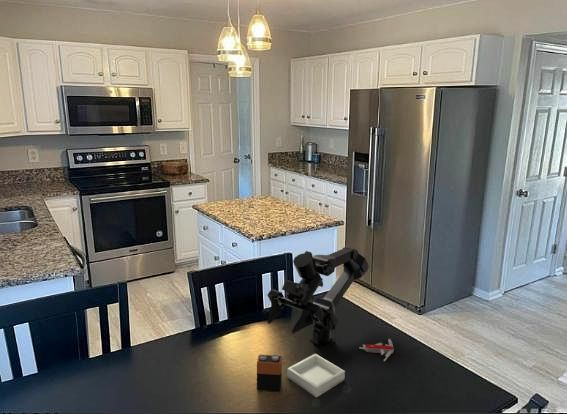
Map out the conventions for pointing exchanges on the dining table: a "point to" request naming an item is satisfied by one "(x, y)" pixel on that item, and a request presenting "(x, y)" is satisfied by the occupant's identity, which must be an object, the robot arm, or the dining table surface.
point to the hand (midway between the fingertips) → (280, 327)
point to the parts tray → (315, 374)
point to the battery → (269, 373)
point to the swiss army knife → (380, 348)
